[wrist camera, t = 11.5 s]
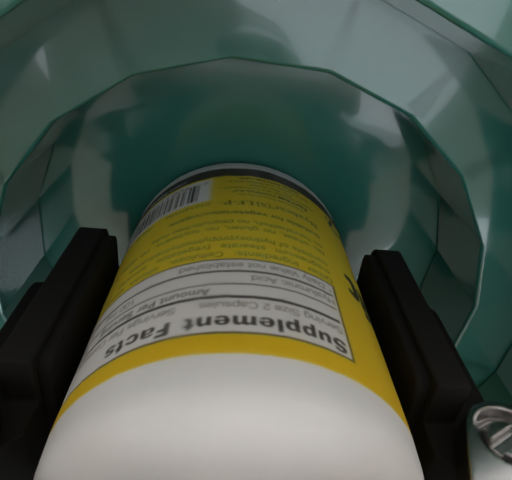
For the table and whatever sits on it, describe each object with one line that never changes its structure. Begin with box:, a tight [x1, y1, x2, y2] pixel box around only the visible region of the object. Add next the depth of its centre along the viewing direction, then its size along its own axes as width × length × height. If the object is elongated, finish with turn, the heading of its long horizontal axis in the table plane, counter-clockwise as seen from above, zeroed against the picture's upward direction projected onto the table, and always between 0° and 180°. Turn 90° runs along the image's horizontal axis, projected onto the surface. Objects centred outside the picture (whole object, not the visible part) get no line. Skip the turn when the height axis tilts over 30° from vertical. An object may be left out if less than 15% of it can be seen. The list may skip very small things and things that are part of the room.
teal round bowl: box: [0, 0, 512, 406], centre depth 10 cm, size 14×14×6 cm
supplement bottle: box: [33, 163, 424, 480], centre depth 8 cm, size 5×5×10 cm
